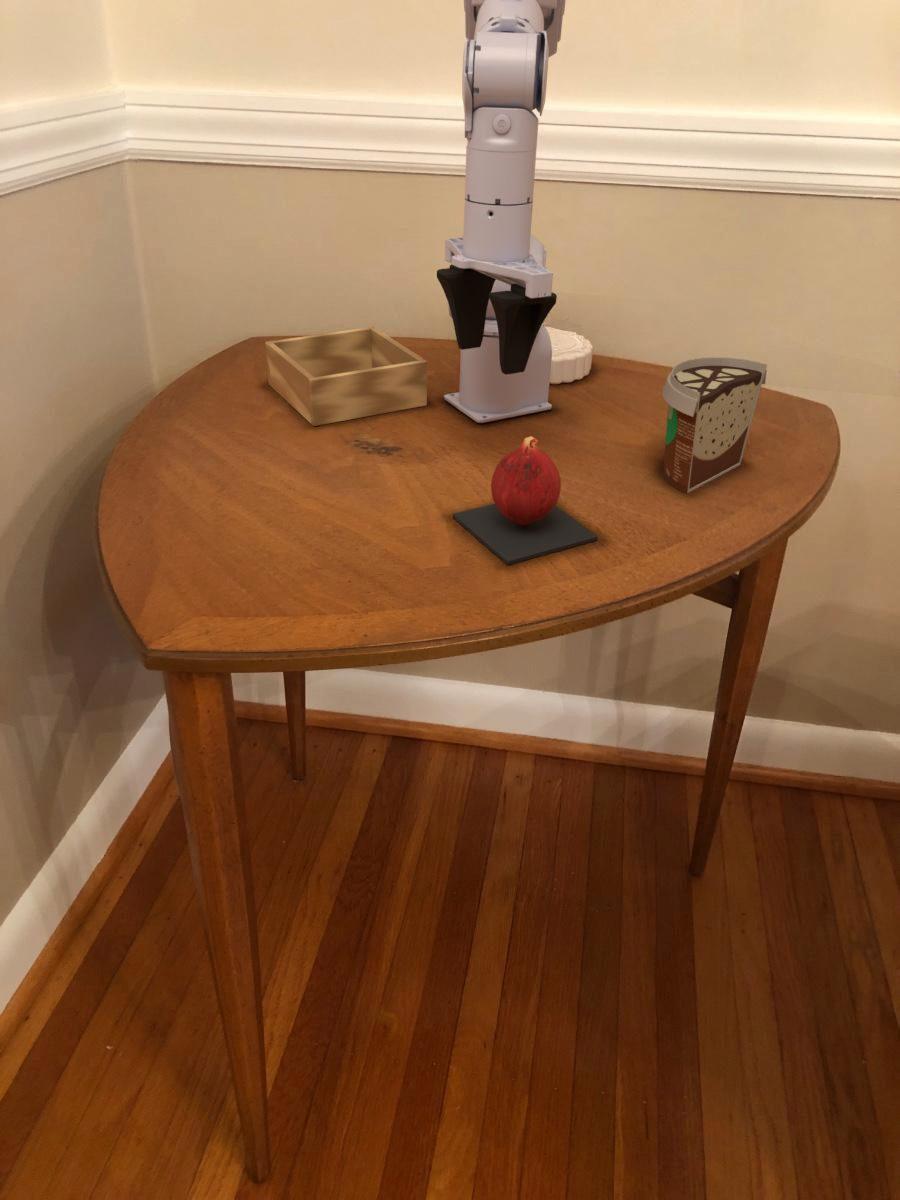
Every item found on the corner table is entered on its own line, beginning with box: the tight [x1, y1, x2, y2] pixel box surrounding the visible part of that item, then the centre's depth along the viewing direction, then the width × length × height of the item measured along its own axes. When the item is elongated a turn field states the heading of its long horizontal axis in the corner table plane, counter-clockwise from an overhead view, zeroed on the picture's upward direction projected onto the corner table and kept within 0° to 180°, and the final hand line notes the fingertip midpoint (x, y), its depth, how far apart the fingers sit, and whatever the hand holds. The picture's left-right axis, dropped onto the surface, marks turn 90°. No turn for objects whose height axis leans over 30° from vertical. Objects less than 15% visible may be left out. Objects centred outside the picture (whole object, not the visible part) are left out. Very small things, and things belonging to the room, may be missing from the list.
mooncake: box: [544, 326, 594, 385], centre depth 114 cm, size 12×12×4 cm
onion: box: [490, 435, 562, 526], centre depth 78 cm, size 6×6×8 cm
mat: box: [452, 503, 599, 566], centre depth 81 cm, size 9×9×1 cm
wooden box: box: [264, 326, 428, 427], centre depth 104 cm, size 13×13×5 cm
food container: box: [661, 356, 768, 494], centre depth 89 cm, size 12×6×10 cm, turn 135°
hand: (490, 359), depth 86 cm, fingers open, 7 cm apart
